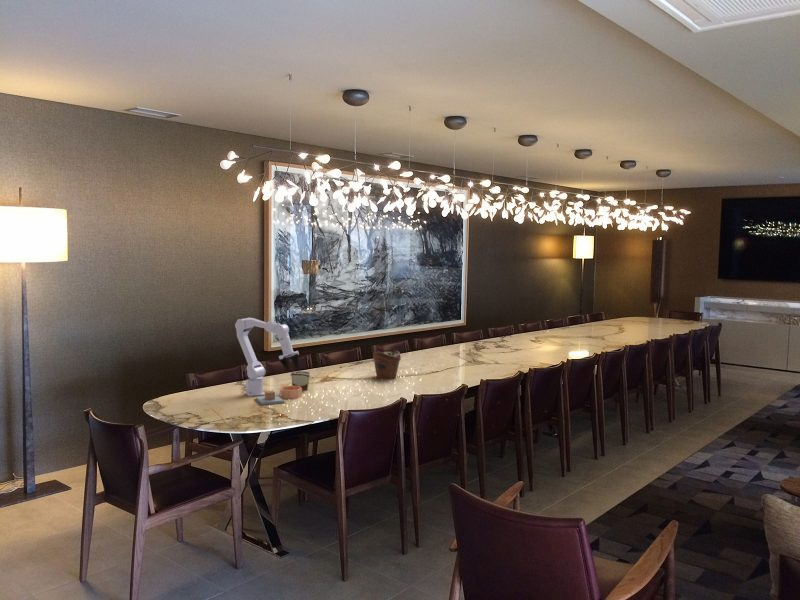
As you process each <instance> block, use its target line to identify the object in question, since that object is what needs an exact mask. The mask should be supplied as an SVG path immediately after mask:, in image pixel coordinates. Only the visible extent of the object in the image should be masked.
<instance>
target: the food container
mask: <svg viewBox="0 0 800 600" xmlns="http://www.w3.org/2000/svg"><path fill="white" fill-rule="evenodd" d="M290 377H291V386H300V387H301V388H302V391H308V390H309V381H310V378H311V374H310V371H304V370H298V371H291V372H290Z"/></svg>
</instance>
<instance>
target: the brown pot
mask: <svg viewBox="0 0 800 600" xmlns="http://www.w3.org/2000/svg"><path fill="white" fill-rule="evenodd" d="M372 359H373V363H374V368H375V375H376V378H378V379H382V380H384V379H385V380H391V379H392V380H393V379H395V378H397V374H398V369H399V365H400V361H401V359H402V357H401V352H400V351H398V350H394V349H389V350H387V351H383V352H382V351H377V350H376V351H374V352H373V358H372Z"/></svg>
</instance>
